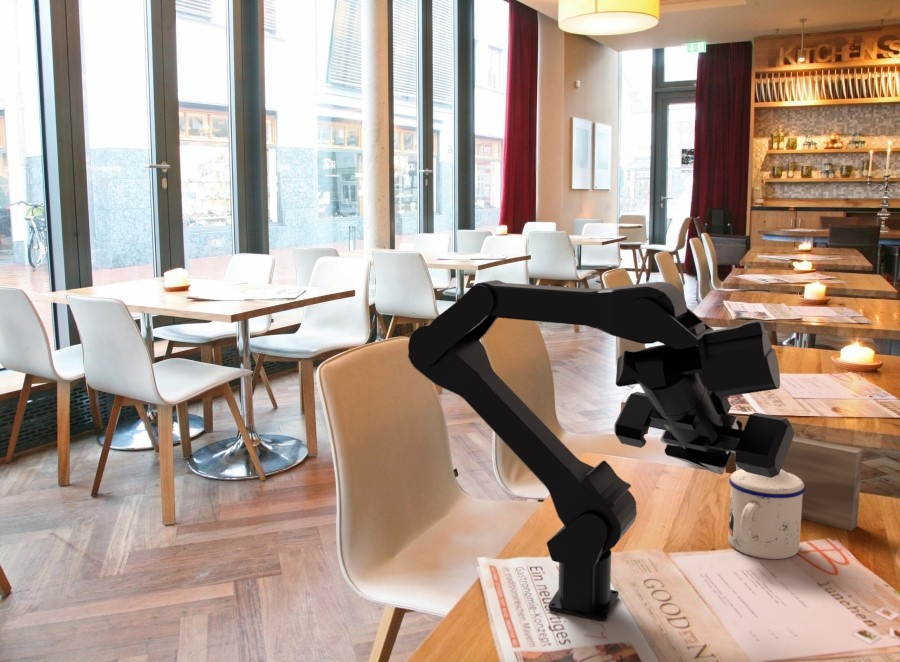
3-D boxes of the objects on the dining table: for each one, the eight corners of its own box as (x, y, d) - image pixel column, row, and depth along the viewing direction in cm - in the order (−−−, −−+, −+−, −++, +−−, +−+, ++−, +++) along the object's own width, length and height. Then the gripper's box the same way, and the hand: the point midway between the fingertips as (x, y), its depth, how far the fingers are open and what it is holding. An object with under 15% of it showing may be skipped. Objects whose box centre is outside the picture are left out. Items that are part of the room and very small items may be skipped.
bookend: (851, 530, 109) (856, 453, 107) (757, 506, 118) (761, 434, 116) (857, 525, 110) (862, 449, 109) (764, 502, 119) (768, 431, 118)
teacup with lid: (741, 526, 110) (745, 445, 109) (810, 544, 105) (815, 458, 103) (706, 555, 101) (710, 467, 99) (780, 576, 95) (785, 482, 94)
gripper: (793, 342, 80) (826, 427, 89) (630, 324, 92) (674, 401, 102) (755, 434, 75) (794, 514, 85) (589, 402, 88) (639, 474, 98)
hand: (721, 470), depth 92 cm, fingers closed
